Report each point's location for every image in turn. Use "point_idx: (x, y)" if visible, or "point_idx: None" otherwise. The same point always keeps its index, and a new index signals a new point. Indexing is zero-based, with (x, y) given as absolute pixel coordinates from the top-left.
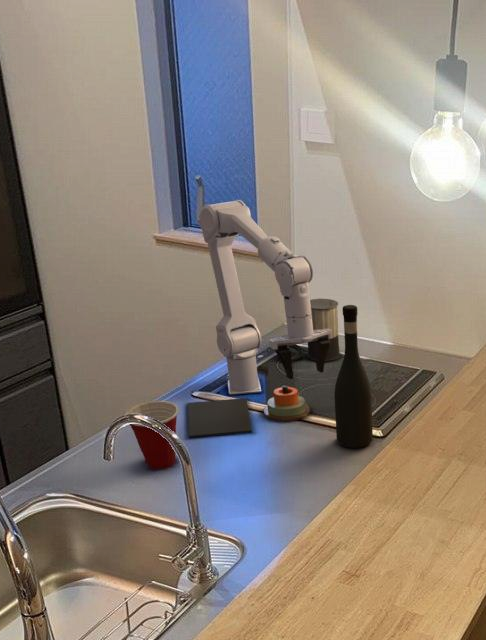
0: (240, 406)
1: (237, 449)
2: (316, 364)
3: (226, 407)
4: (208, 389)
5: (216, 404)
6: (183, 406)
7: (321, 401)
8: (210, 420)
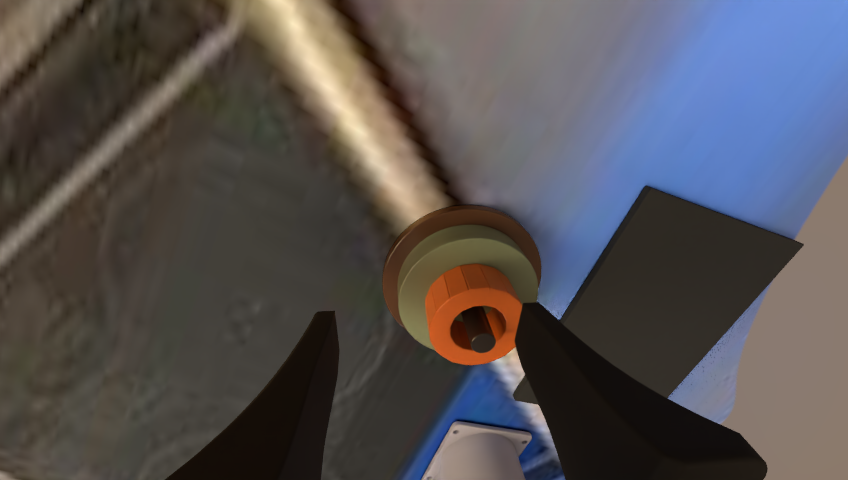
0: None
1: (777, 74)
2: (335, 383)
3: None
4: (548, 470)
5: None
6: None
7: (317, 308)
8: (684, 312)
